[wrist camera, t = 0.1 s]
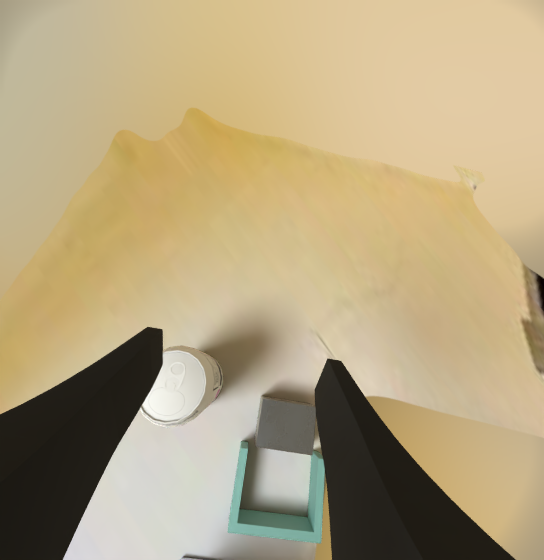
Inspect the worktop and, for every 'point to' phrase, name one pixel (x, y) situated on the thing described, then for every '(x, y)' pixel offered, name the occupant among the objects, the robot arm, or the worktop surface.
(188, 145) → the worktop surface
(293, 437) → the block
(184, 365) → the supplement can
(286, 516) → the dock
